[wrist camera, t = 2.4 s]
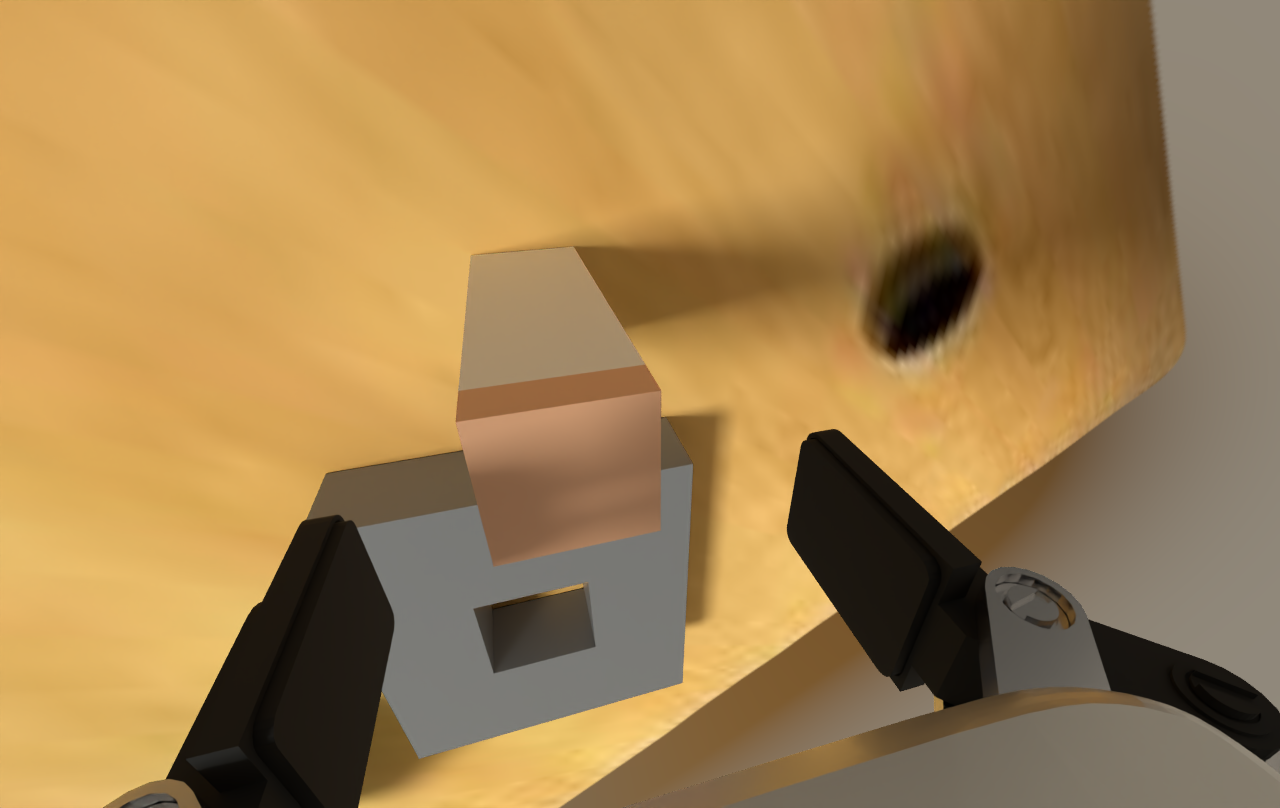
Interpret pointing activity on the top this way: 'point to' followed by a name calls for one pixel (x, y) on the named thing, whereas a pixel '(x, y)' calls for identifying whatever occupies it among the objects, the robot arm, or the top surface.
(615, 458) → the plug
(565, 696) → the socket plate
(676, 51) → the top surface
